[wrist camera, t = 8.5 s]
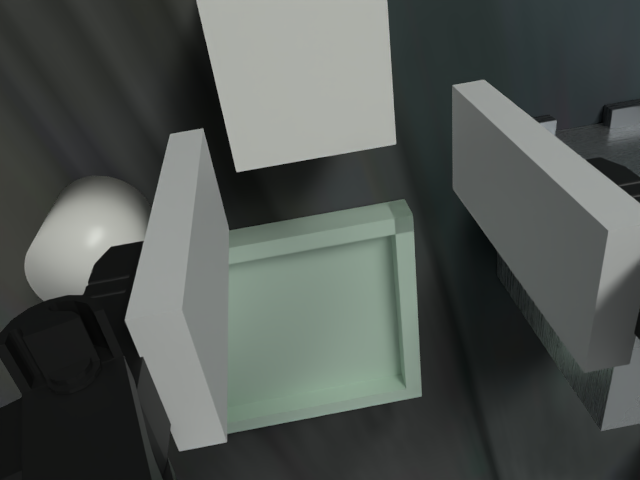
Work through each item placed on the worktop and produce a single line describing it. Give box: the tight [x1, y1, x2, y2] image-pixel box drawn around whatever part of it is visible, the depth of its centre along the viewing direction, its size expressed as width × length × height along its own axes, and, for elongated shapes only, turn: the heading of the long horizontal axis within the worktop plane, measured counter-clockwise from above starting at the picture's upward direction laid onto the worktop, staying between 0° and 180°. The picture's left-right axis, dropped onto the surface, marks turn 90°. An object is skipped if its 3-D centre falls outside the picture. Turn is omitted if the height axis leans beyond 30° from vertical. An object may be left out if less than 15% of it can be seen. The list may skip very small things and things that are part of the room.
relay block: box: [196, 0, 396, 172], centre depth 23 cm, size 6×6×8 cm
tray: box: [227, 199, 422, 434], centre depth 35 cm, size 14×14×2 cm
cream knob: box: [24, 176, 152, 301], centre depth 28 cm, size 5×5×5 cm
